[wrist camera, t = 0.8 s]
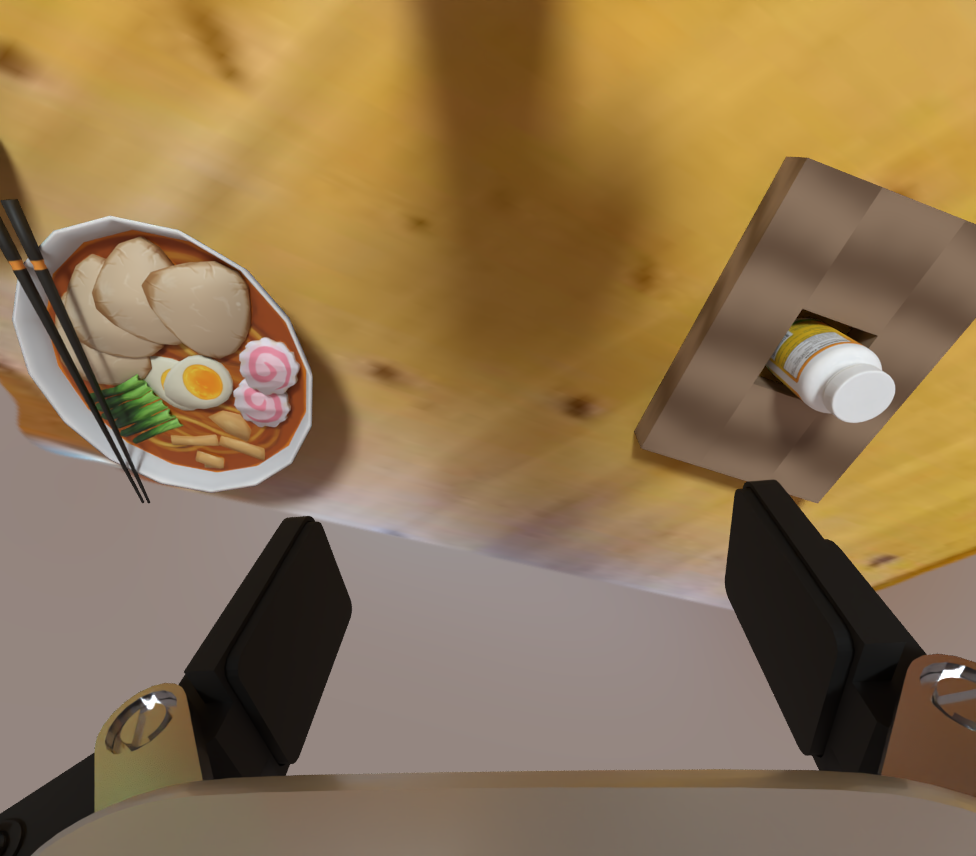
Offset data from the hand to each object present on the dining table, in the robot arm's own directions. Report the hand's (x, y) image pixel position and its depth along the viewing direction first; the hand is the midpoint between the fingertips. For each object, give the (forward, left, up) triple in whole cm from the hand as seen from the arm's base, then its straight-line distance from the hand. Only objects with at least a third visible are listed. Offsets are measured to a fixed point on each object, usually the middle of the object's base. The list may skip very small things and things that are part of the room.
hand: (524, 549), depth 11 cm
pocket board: (-1, +24, -33) cm, 41 cm away
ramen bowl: (+15, -24, -33) cm, 43 cm away
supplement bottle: (-1, +24, -33) cm, 41 cm away
